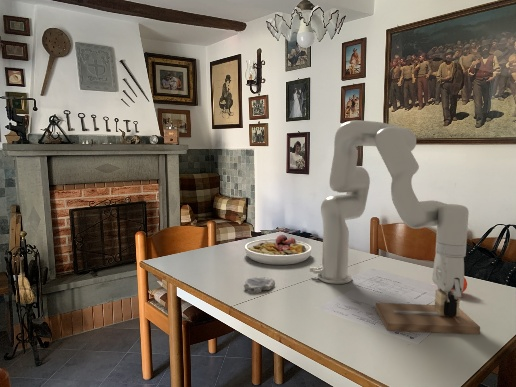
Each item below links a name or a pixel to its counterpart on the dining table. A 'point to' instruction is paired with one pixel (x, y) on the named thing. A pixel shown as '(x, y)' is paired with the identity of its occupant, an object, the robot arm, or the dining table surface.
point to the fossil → (258, 284)
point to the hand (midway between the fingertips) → (446, 311)
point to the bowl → (278, 251)
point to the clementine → (463, 285)
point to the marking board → (423, 319)
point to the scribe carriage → (442, 302)
